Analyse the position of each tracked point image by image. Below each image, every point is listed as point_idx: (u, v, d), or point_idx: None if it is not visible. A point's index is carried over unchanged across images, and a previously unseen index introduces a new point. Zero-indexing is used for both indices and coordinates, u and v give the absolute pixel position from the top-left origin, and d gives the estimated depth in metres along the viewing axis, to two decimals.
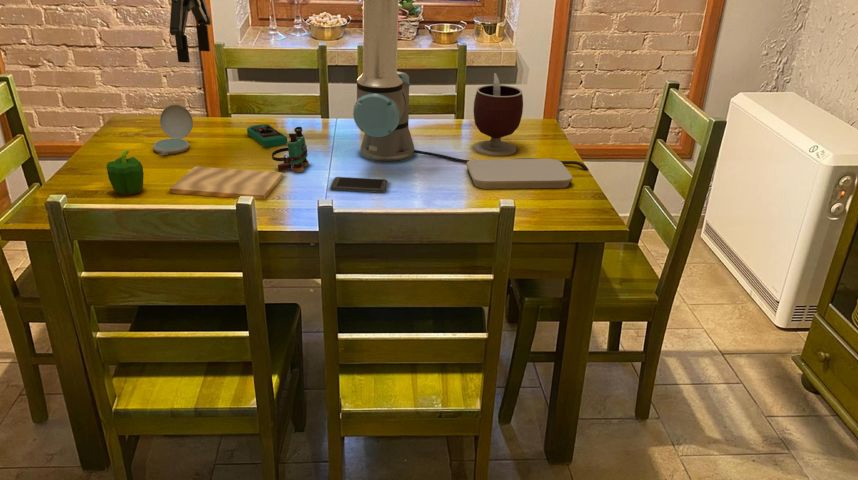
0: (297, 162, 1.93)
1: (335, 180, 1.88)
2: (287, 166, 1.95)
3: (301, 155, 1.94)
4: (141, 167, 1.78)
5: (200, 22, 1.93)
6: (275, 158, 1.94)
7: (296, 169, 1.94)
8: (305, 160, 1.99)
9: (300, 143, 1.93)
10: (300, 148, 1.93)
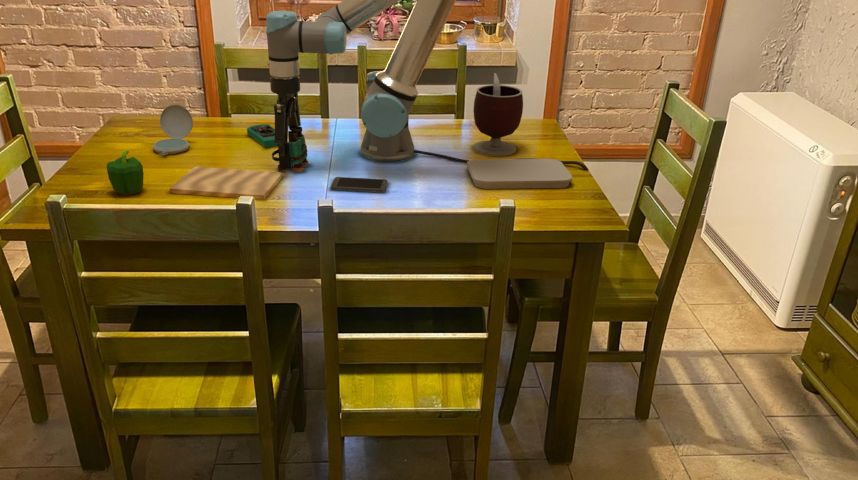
0: (297, 162, 1.93)
1: (335, 180, 1.88)
2: None
3: (301, 155, 1.94)
4: (141, 167, 1.78)
5: (292, 128, 1.99)
6: (275, 158, 1.94)
7: (296, 169, 1.94)
8: (305, 160, 1.99)
9: (300, 143, 1.93)
10: (300, 148, 1.93)
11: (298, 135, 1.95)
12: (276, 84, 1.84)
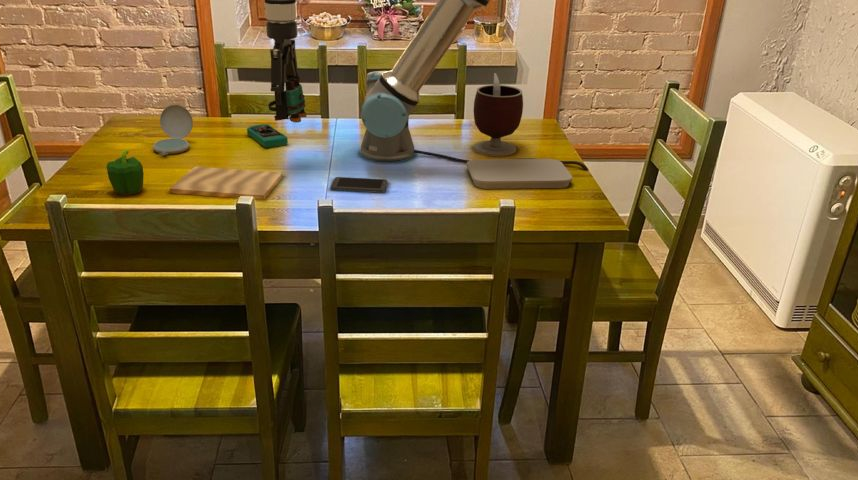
0: (294, 112, 1.86)
1: (335, 180, 1.88)
2: None
3: (298, 105, 1.87)
4: (141, 167, 1.78)
5: (289, 78, 1.92)
6: (272, 108, 1.87)
7: (293, 119, 1.88)
8: (303, 111, 1.92)
9: (297, 92, 1.86)
10: (297, 97, 1.87)
11: (295, 84, 1.89)
12: (272, 28, 1.78)
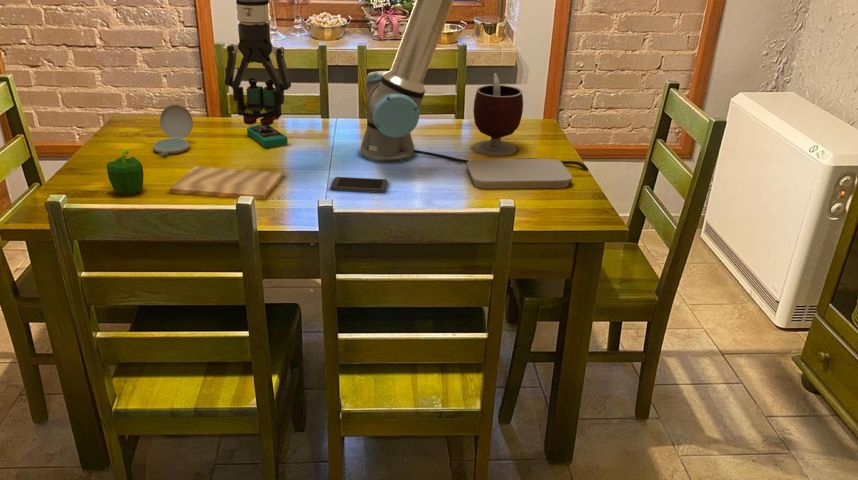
0: None
1: (335, 180, 1.88)
2: None
3: None
4: (141, 167, 1.78)
5: (237, 85, 1.83)
6: (270, 112, 1.82)
7: None
8: None
9: None
10: None
11: (256, 86, 1.85)
12: (266, 29, 1.74)
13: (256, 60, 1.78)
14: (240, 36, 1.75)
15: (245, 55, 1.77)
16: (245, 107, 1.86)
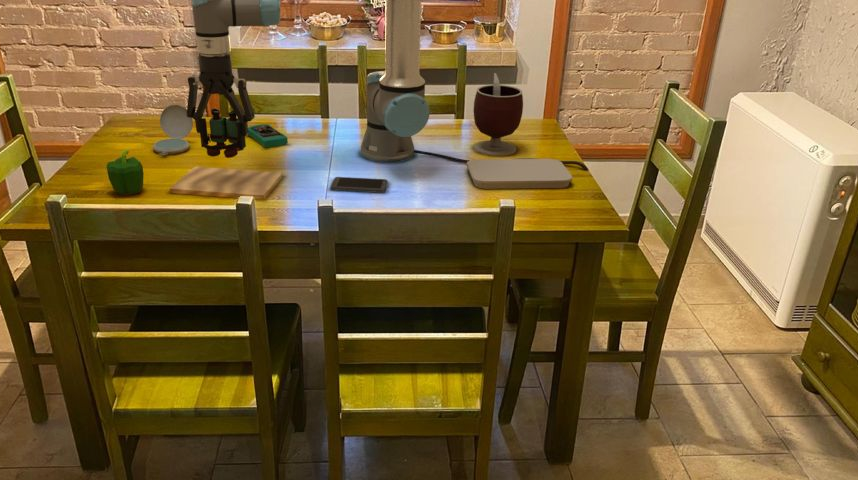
0: None
1: (335, 180, 1.88)
2: None
3: None
4: (141, 167, 1.78)
5: (199, 117, 1.79)
6: (233, 144, 1.78)
7: None
8: None
9: None
10: None
11: (219, 117, 1.81)
12: (227, 61, 1.70)
13: (218, 92, 1.74)
14: (200, 68, 1.70)
15: (206, 87, 1.73)
16: (208, 138, 1.82)
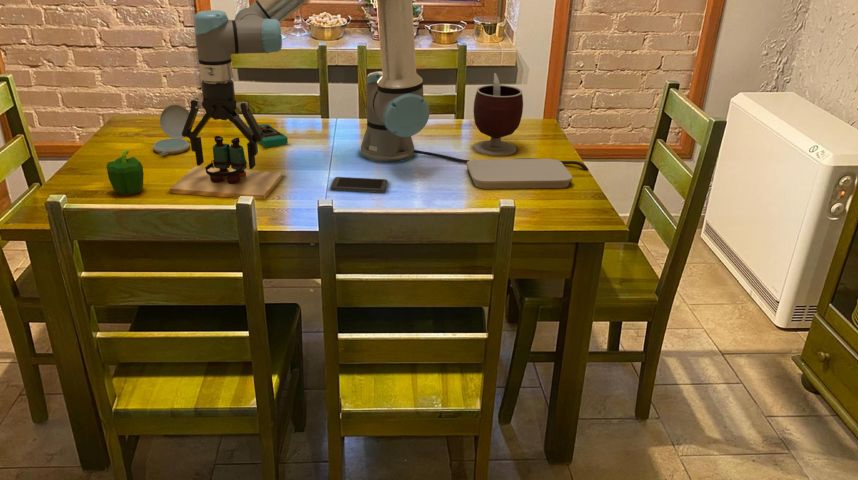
0: None
1: (335, 180, 1.88)
2: None
3: None
4: (141, 167, 1.78)
5: None
6: (236, 171, 1.82)
7: (245, 173, 1.88)
8: None
9: None
10: None
11: (222, 144, 1.84)
12: (230, 87, 1.73)
13: (221, 117, 1.77)
14: (203, 95, 1.73)
15: (209, 113, 1.76)
16: (212, 165, 1.85)
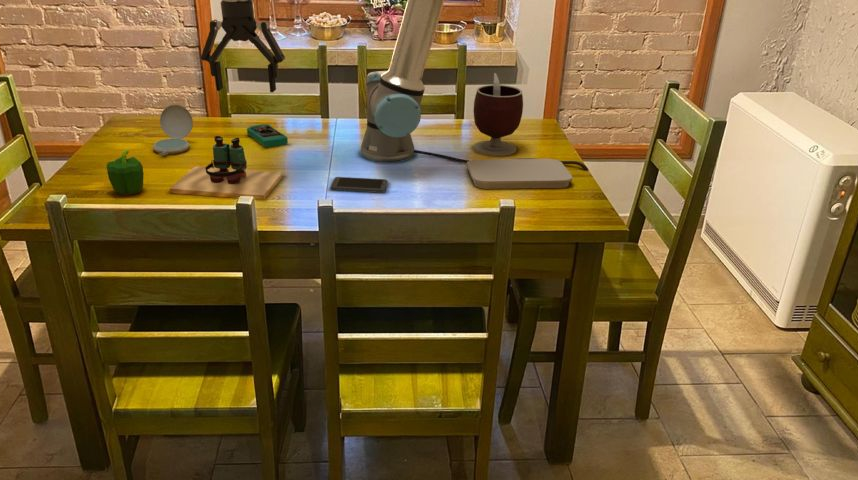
0: None
1: (335, 180, 1.88)
2: None
3: None
4: (141, 167, 1.78)
5: None
6: (236, 171, 1.82)
7: (245, 173, 1.88)
8: None
9: None
10: None
11: (222, 144, 1.84)
12: (250, 6, 1.71)
13: (241, 38, 1.75)
14: (223, 14, 1.71)
15: (229, 33, 1.74)
16: (212, 165, 1.85)
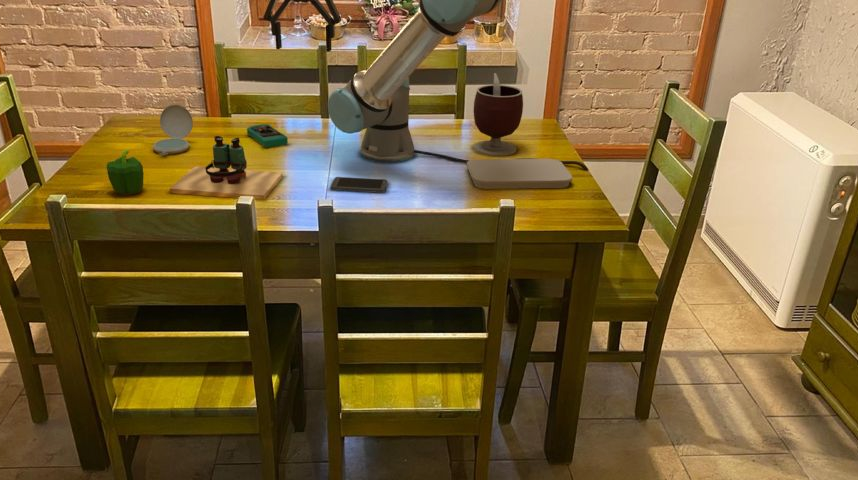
0: None
1: (335, 180, 1.88)
2: None
3: None
4: (141, 167, 1.78)
5: (275, 20, 1.92)
6: (236, 171, 1.82)
7: (245, 173, 1.88)
8: None
9: None
10: None
11: (222, 144, 1.84)
12: None
13: (302, 0, 1.88)
14: None
15: None
16: (212, 165, 1.85)
